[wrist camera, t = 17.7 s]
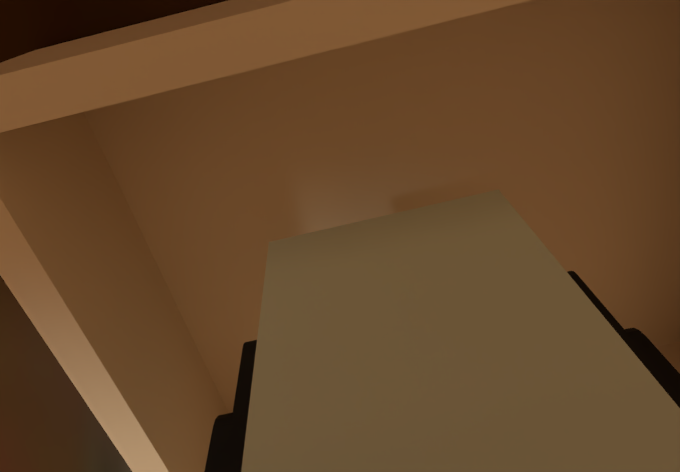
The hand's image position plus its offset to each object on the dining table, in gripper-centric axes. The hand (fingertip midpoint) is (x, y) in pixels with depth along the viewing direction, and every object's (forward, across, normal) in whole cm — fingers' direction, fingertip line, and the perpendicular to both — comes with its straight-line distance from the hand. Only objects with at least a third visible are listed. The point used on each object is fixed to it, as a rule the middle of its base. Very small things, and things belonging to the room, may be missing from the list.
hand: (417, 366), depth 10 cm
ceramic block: (+2, 0, 0) cm, 2 cm away
